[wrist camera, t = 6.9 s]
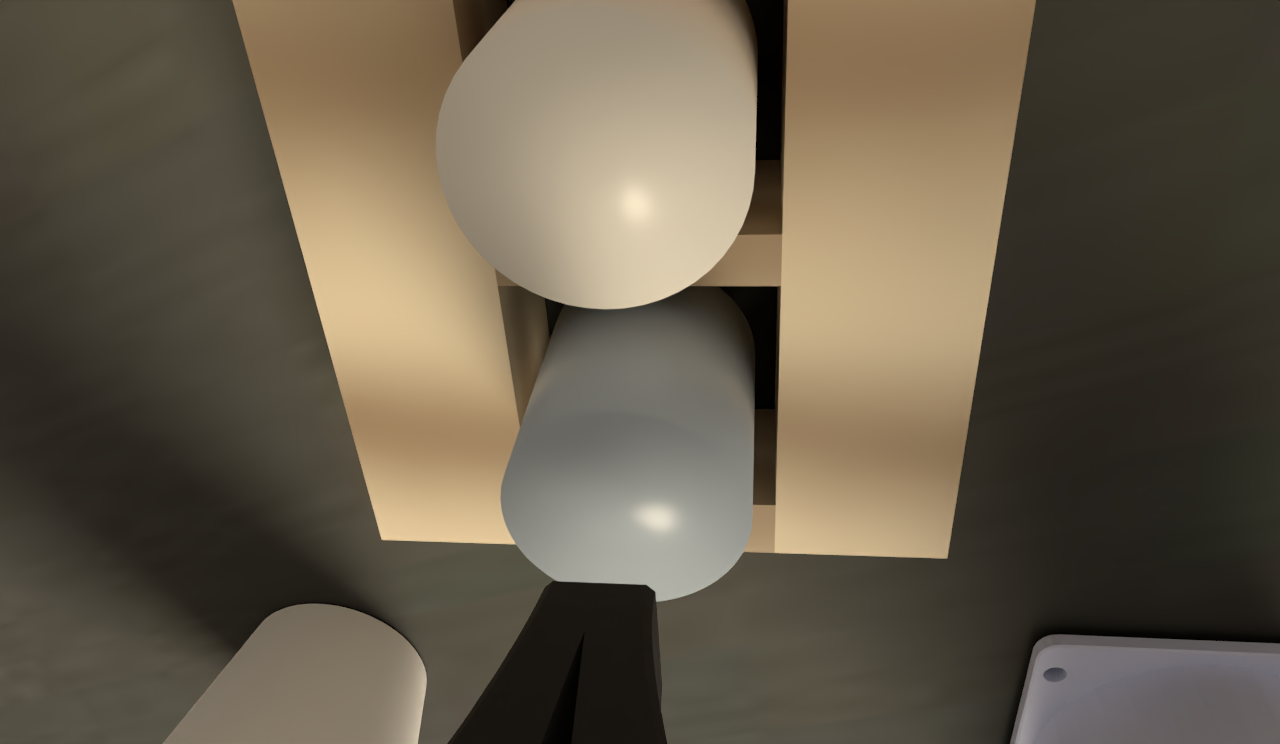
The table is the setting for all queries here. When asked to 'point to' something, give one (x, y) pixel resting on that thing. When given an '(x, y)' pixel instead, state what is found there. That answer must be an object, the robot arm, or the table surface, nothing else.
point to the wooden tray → (760, 256)
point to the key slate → (639, 446)
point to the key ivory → (604, 145)
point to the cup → (313, 684)
